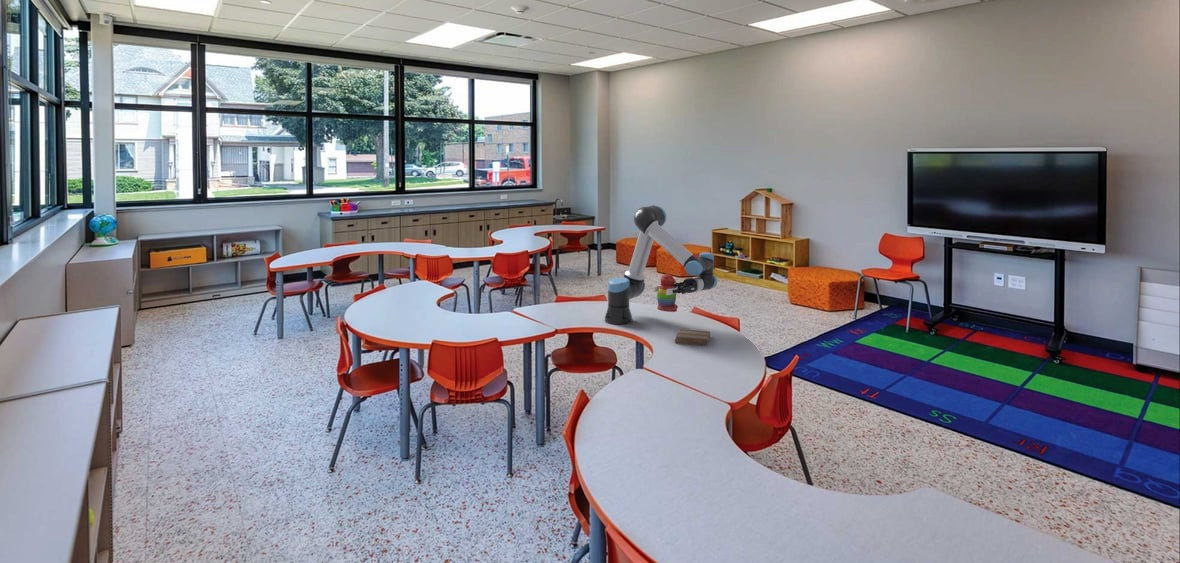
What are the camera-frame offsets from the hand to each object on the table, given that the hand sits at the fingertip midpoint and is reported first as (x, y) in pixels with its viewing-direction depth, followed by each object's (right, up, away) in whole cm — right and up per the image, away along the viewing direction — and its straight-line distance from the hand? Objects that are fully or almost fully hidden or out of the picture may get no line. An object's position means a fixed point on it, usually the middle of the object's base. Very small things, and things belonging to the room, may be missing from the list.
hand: (660, 290), depth 299 cm
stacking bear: (+4, -9, +5) cm, 11 cm away
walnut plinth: (+16, -24, +2) cm, 29 cm away
